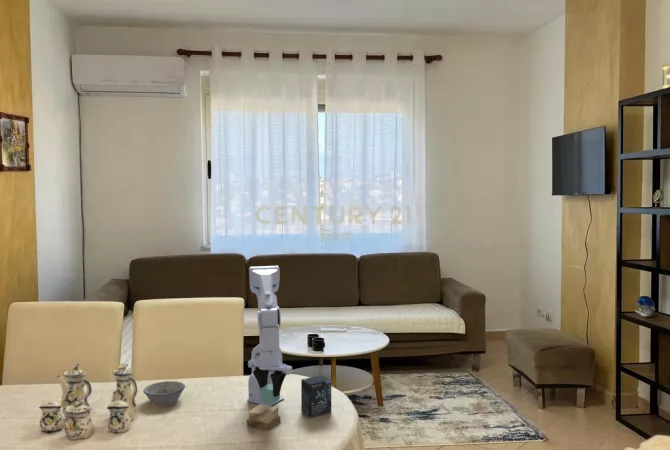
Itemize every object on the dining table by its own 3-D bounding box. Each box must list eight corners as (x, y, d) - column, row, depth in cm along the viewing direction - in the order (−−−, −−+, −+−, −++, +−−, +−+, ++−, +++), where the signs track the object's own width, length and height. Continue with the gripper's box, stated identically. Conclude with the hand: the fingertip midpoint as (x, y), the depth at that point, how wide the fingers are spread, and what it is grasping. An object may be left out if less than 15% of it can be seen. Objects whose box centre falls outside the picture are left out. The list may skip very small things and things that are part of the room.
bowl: (177, 409, 181) (176, 394, 181) (137, 408, 182) (137, 394, 182) (190, 394, 194) (190, 380, 194) (153, 393, 195) (153, 379, 195)
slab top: (248, 420, 168) (248, 412, 168) (259, 412, 174) (259, 404, 174) (268, 423, 166) (268, 415, 165) (278, 414, 172) (278, 406, 171)
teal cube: (260, 401, 169) (260, 387, 169) (269, 396, 172) (268, 383, 172) (271, 403, 167) (271, 390, 167) (279, 399, 170) (279, 385, 170)
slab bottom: (247, 427, 169) (246, 419, 168) (261, 419, 175) (261, 411, 174) (266, 432, 165) (266, 424, 165) (280, 423, 171) (280, 415, 171)
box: (310, 418, 174) (310, 384, 173) (301, 412, 178) (300, 379, 178) (332, 412, 178) (331, 379, 177) (322, 406, 183) (322, 374, 182)
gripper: (241, 348, 169) (242, 394, 170) (282, 356, 161) (282, 403, 163) (256, 342, 175) (257, 386, 176) (296, 349, 168) (296, 395, 169)
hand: (270, 394), depth 170 cm, fingers closed on teal cube, 4 cm apart
